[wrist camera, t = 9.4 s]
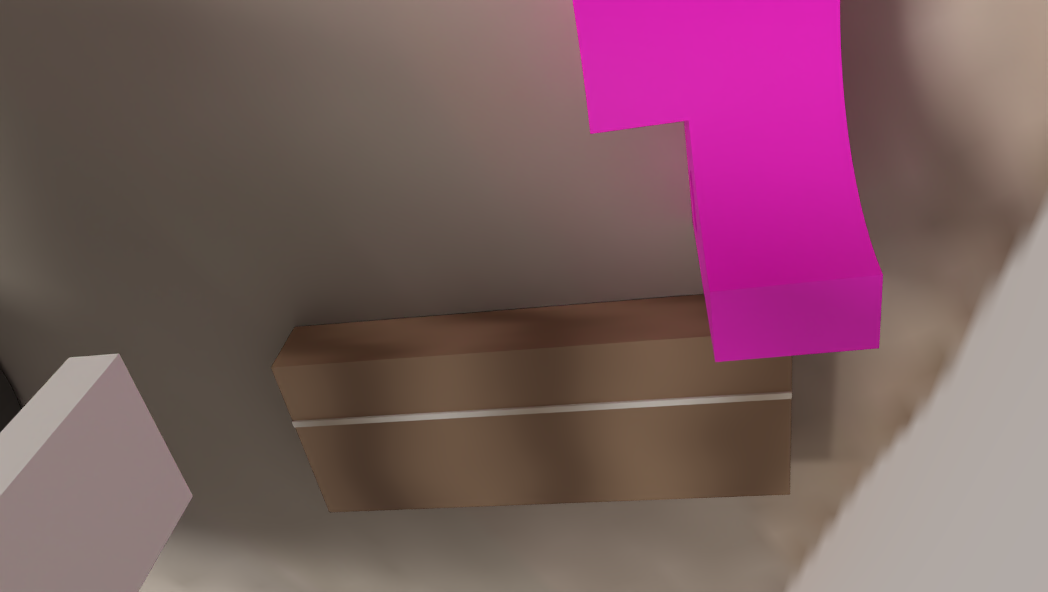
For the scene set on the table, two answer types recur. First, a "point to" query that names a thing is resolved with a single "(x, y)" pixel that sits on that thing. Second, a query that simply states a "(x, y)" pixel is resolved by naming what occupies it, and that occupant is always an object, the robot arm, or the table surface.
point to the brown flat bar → (535, 408)
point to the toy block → (749, 160)
